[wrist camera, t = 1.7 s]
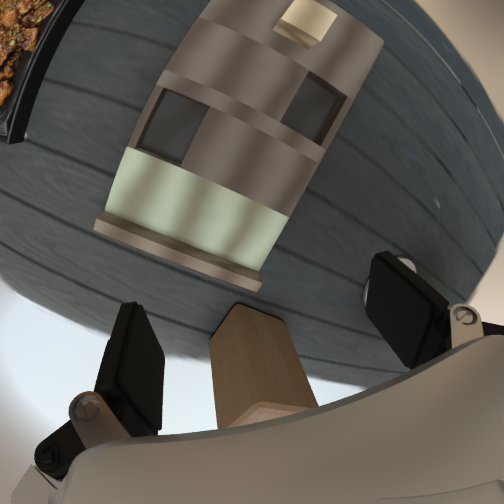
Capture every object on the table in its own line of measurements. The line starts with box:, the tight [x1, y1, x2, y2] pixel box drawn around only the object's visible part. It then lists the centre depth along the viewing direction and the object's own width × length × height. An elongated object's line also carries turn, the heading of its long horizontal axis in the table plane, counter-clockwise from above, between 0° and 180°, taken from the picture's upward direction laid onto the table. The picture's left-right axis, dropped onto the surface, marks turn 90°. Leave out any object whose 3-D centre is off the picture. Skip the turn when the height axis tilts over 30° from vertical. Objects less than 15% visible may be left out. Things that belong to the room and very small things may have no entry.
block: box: [210, 304, 319, 429], centre depth 37 cm, size 10×10×20 cm
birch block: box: [272, 0, 337, 50], centre depth 22 cm, size 5×5×4 cm
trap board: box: [93, 0, 384, 292], centre depth 28 cm, size 22×40×6 cm, turn 152°
